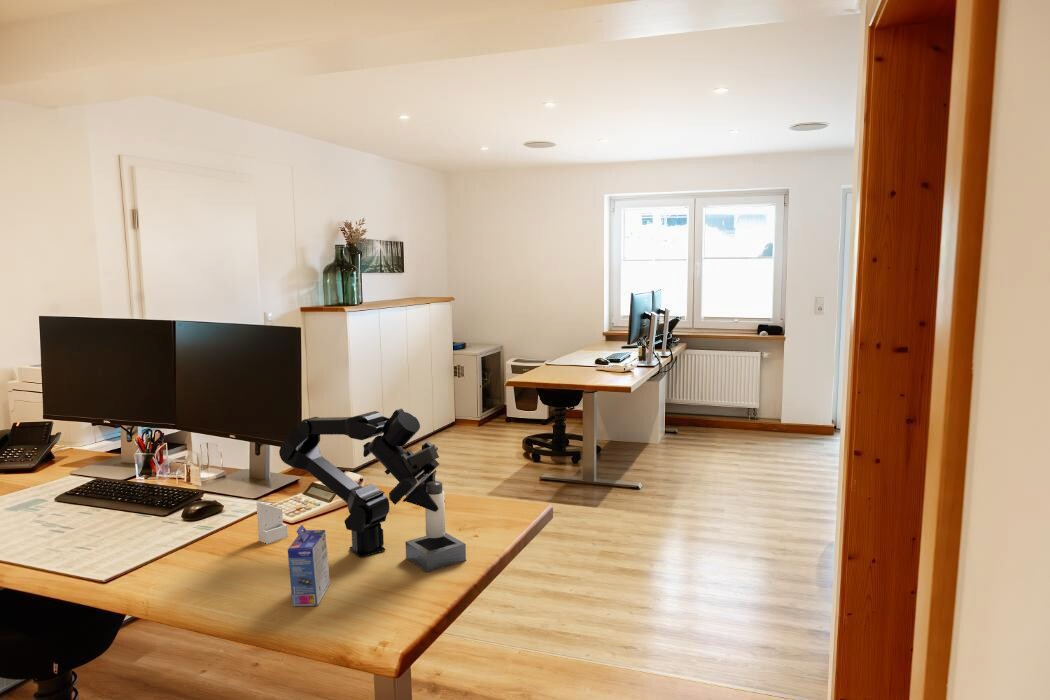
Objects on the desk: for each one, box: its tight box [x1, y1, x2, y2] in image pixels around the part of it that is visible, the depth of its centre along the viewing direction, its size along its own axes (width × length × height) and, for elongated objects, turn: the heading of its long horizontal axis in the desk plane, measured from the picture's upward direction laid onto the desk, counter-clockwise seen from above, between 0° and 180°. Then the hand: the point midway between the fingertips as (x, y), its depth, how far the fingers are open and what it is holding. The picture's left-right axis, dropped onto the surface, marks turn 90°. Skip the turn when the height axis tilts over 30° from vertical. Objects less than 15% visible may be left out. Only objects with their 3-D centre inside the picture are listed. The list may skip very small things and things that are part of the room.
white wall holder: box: [256, 501, 289, 545], centre depth 171 cm, size 4×10×9 cm, turn 143°
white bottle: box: [424, 480, 446, 538], centre depth 157 cm, size 4×4×12 cm
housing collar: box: [405, 532, 467, 573], centre depth 158 cm, size 10×10×4 cm
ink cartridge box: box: [287, 524, 330, 607], centre depth 141 cm, size 10×6×14 cm, turn 2°
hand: (440, 506), depth 157 cm, fingers closed on white bottle, 4 cm apart
